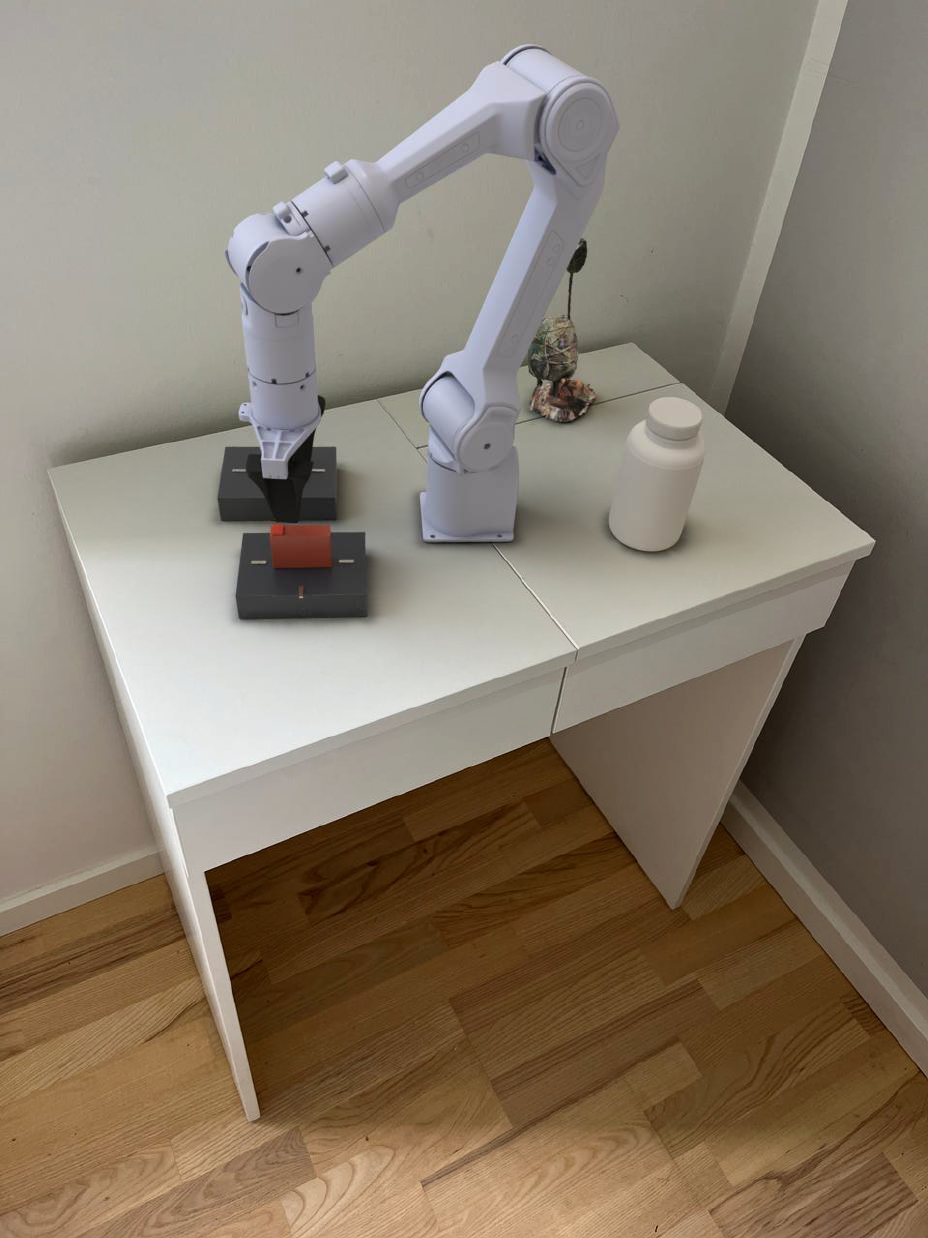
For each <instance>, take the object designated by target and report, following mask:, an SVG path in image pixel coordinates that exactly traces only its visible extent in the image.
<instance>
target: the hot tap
mask: <svg viewBox="0 0 928 1238" xmlns="http://www.w3.org/2000/svg"><path fill="white" fill-rule="evenodd" d="M331 532H332V531H331V525H330V524H285V523H272V524H271V525H270V530H269V533H270V542H271V551H272V560H273V568H319V567H332V549H331Z"/></svg>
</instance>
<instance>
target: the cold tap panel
mask: <svg viewBox="0 0 928 1238" xmlns="http://www.w3.org/2000/svg"><path fill="white" fill-rule="evenodd" d="M249 454H262V452H261V449H260V446H225V447H224V453H223V459H222V464H221V472H220V479H219V485H218V491H217V505H218V511H219V518H220V521H275V520H274V518H273V516H272V513H271V511H270V509H269V506H268V504H267V501H266V499H265V497H264V495H263V493H262V492H261V490H260V489H259V487H258V486H257V485H256V484H255V483H254V482H253V481H252V480H251V479H250V478H249V477H248V475H247V472H246V462H247V458H248V455H249ZM311 461H313V462H314V463H313V468H312V473H311V475H310V478H309V480H308V481H307V483H306V485H305V487H304V489H303V493H302V503H301V511H300V515H299V520H298V521H322V520H323V521H329V520H330V521H331V520H332V521H333V520H334V521H335V520H337V511H338V510H337V509H338V503H337V502H338V456H337V446H313V450H312V457H311Z"/></svg>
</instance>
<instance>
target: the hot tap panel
mask: <svg viewBox="0 0 928 1238" xmlns="http://www.w3.org/2000/svg"><path fill="white" fill-rule="evenodd" d="M331 549H332V567H319V568H273V560H272V551H271V542H270V532H242V537H241V547H240V554H239V564H238V572H237V578H236V579H237V580H236V588H235V603H236V609H237V616H238V619H239V620H250V619H252V620H255V619H256V620H257V619H258V620H259V619H311V618H312V619H313V618H366V617H367V616H368V615H367V614H368V612H367V611H368V610H367V608H368V606H367V603H368V602H367V557H366V555H367V554H366V552H367V551H366V550H367V549H366V532H365V531H333V532H332V531H331Z"/></svg>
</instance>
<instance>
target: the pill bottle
mask: <svg viewBox="0 0 928 1238" xmlns="http://www.w3.org/2000/svg"><path fill="white" fill-rule="evenodd" d="M703 417H704V416H703V412H702V411H701V409H700V408H699V407H698V406H697V405H695V404H694V403H693V402H691V401H689V400H687V399H684V398H680V397H675V396H665V397H664V396H663V397H659V398H656V399H654V400H653V401H652V402H651V403H650V404H649V405H648V407H647V411H646V416H645V419H644V420H642V421H640V422H638V423H637V424H636V425H634V426H633V428H632V429H631V430H630V432H629V433H628V435H627V438H626V441H625V446H624V450H623V455H622V459H621V462H620V467H619V471H618V475H617V480H616V485H615V488H614V491H613V492H614V493H613V497H612V502H611V506H610V510H609V514H608V526H609V531H610V532H611V533H612V535H613V536H614V537H615V539H617V540H618V541H619V542H620V543H622V544H623V545H625V546H626V547H630V548H632V549H635V550H638V551H644V552H660V551H664V550H667V549H669V548H671V547H673V546H674V545H675V544H676V543H677V542H678V541H679V540H680V537H681V535H682V533H683V530H684V527H685V524H686V520H687V517H688V514H689V511H690V507H691V504H692V501H693V498H694V495H695V492H696V489H697V485H698V483H699V478H700V476H701V472H702V469H703V465H704V462H705V459H706V455H707V447H706V442H705V440H704V437H703V436H702V434H701V433H700V430H701V426H702V423H703V419H704V418H703Z"/></svg>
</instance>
